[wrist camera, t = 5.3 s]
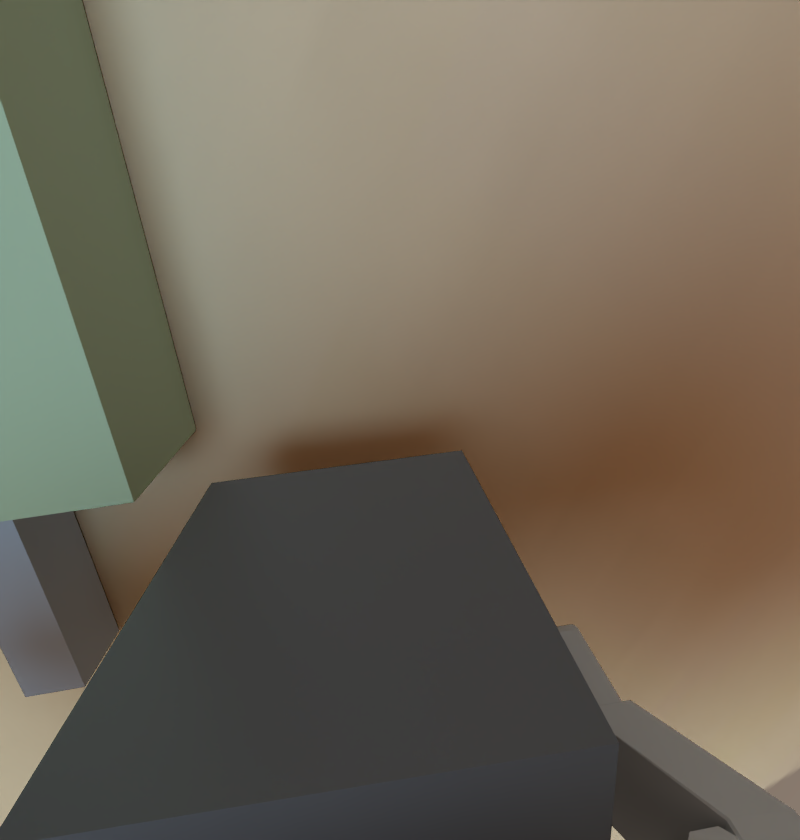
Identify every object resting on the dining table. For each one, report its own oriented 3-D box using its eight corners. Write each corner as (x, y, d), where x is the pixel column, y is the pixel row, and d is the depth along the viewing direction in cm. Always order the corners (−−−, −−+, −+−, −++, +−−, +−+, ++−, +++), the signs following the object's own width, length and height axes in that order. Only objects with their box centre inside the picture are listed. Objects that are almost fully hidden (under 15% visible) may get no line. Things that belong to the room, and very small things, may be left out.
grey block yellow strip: (461, 450, 9) (665, 828, 3) (476, 700, 12) (608, 1188, 6) (211, 483, 9) (-80, 958, 3) (278, 732, 12) (194, 1278, 5)
